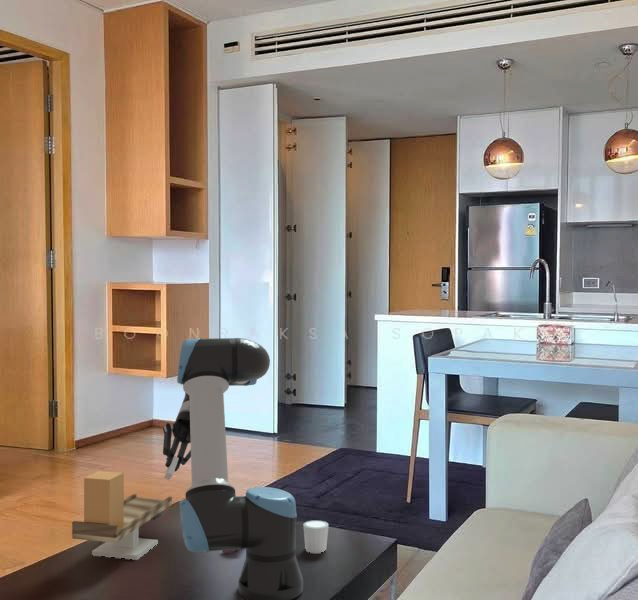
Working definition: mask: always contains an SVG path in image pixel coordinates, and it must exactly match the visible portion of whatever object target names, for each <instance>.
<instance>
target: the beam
mask: <svg viewBox="0 0 638 600" xmlns="http://www.w3.org/2000/svg"><path fill="white" fill-rule="evenodd" d="M172 505H173V497H172V496H168V497H166V498H165V499H160V498H149V497H148V498H147V497H137V493H133V494H131V495H130V496H128V497H126V498H124V527H122V528H121V529H119V530H118V531H117V525H114V524H103V523H92V522H84V521H80V520H73V521H71V534H72V535H71V539H73V540H74V539H75V540H83V541H92V542H93V541H94V542H102V543H105V542H112V543H116V542H118V541H119V540H121V539H122V538H124V537H125V536H127V535H128V534H129V533H131V532H132V531H134V530H135V529H137V528H138V527H139V528H140V527H141V526H142V525H144V524H145V523H147V522H149V521H150V520H152V521H154V520H155V521H156V520H158V519H159V518H160V517H162V516H163V515H164V514H166V513H165V512H166V511H165V510H166V509H167V508H169V507H170V506H172Z"/></svg>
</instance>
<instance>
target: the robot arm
mask: <svg viewBox="0 0 638 600" xmlns="http://www.w3.org/2000/svg"><path fill="white" fill-rule="evenodd" d="M270 366H271V359H270V355H269V353H268V351H267V350H266V348H264V347H263V346H262V345H261V344H259V343H258V342H256V341H253V340H251V339H247V338H241V337H234V338H233V337H231V338H230V337H229V338H227V337H225V338H220V337H219V338H213V337H212V338H201V337H197V338H188V339H185V340H183V342H182V343H181V346H180V353H179V360H178V369H177V378H176V379H177V380H176V381H177V384H179V385H182V389H183V392H184V397H183V401H182V402H181V403H182V404H181V406H180V408H179V411H178V413H177V417H176V419H175V421H174V423H173V424H170V423H169V422H167V423H166V424H165V425H164V427H163V428H162V430H163V444H162V445H163V447H162V455H164V456H166V458H165V459H166V461H165V464H164V465H165V467H166V468H167V469H166V470H165V473H164V477H163V478H164V479H166V480H167V481H169V480H170V479H171V478H172V477H173V476H174V473H175V472H177V471H179V469H180V466H181V465H182V466H185V465H186V464H187V463H188V461H189V460H190V467H191V473H190V474H191V486H189V488H188V489H187V490H186V491H185V498H183V499H181V500H180V501H179V514H180V515H179V516H180V524H181V525H180V526H181V531H182V536H183V542H184V546H185V548H186V549H187V550H188V551H189V552H192V553H193V552H194V553H195V552H196V553H199V552H200V553H201V552H205V553H209V552H214V551H215V552H216V551H222V550H230V549H238V550H240V549H241V550H242V549H243V550H245V560H244V563H243V566H242V568H241V571H240V575H239V578H238V581H237V582H238V584H237V586H238V588H237V589H238V594H239V595H240V596H241V597H242V598H244V599H245V600H294V599H296V598H297V597H299V596H301V594H302V593H303V590H304V578H303V575H302V572H301V569H300V566H299V563H298V559H297V556H296V555H297V552H296V549H297V517H298V514H297V505H296V499H295V497H294V496H293V495H292V494H291V493H290V492H288V491H286V490H284V489H281V488H275V487H269V486H255V487H250V488H248V489H247V490H246V492H245V495H242V496H236V488H235V487H234V486H233V485H232V484H231V483H229V474H228V473H229V471H228V469H229V468H228V454H227V435H226V434H227V433H226V420H225V419H226V417H225V398H224V394H225V392H227V391H228V390H229V387H231V386H239V387H241V386H242V387H243V386H244V387H245V386H246V387H247V386H254V385H256V384H257V380H258V379H259V380H260V379H261V378H263V377H264V376H265V375H266V374H267V372H268V371H269V369H270ZM172 435H173V440H172ZM179 444H180V447H179ZM189 444H190V450H189V451H188V452H187V447H188V445H189ZM178 447H179V449H178ZM177 450H178V453H177ZM186 452H187V454H186V455H185V453H186ZM176 453H177V456H175V455H176Z"/></svg>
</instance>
